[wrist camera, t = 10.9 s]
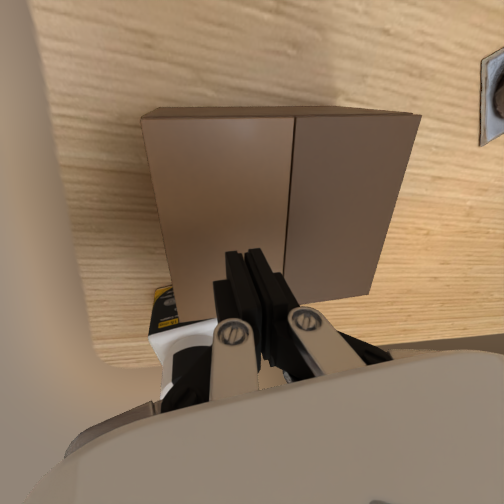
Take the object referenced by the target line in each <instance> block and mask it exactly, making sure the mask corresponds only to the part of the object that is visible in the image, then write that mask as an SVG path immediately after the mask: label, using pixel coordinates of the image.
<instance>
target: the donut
mask: <svg viewBox="0 0 504 504" xmlns="http://www.w3.org/2000/svg"><path fill="white" fill-rule="evenodd" d="M481 73H482V74H481V76H482V77H481V79H482V87H483V89H482V93H481V97H482V98H481V102H482V105H481V117H482V119H481V139H480V140H481V147H482V146H484V145H486V144H488V143H489V142H490V141H492V140H494V139H496V138H498V137H499V136H500V135H502V134H504V48H502V49H500V50H499V51H497V52H495V53H494V54H492V55H491V56H489V57H487V58H485V59H483V60H482V71H481Z"/></svg>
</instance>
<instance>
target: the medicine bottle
mask: <svg viewBox="0 0 504 504" xmlns="http://www.w3.org/2000/svg"><path fill="white" fill-rule="evenodd" d="M217 324H218V321H217V318H211V319H203V320H196V321H188V322H181V323H180V322H179V317H178V312H177V307H176V302H175V296H174V291H173V286H168V287H164V288H160V289H157V290H156V291H155V297H154V303H153V309H152V315H151V321H150V328H149V334H148V340H149V342H150V344H151V346H152V348H153V350H154V351H155V353H156V355H157V357H158V359H159V361H160V362H161V364H162V366H163V371H162V383H161V393H160V400H162V399H163V398H164V396H165V395H166V394H167V392H168V391H169V390H170V389H171V388H172V387H173V386H174V384H175V383H176V382H177V381H178V380H179V379H180V378H181V377H182V376H183V375H184V374H185V373H186V371H187V370H188V369H189V368H190V367H191V366H192V365H193V364H194V363H195V362H196V361H197V360H198V358H199V357H200V356H201V355H202V354H203V353H204V352H205V351H206V350H207V349H208V348H209V347H210V345H211V344H212V343H213V332H214V329H215V327H216V326H217Z"/></svg>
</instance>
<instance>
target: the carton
mask: <svg viewBox="0 0 504 504" xmlns="http://www.w3.org/2000/svg"><path fill="white" fill-rule="evenodd" d="M223 117H294V127H293V141H292V154H291V167H290V180H289V194H288V207H287V220H286V233H285V246H284V260H283V273H282V275H283V277H284V279H285V280H286V282H287V284H288V286H289V288H290V289H291V291H292V293H293V295H294V296H295V298H296V300H297V302H298V304H299V305H302V304H309V303H315V302H322V301H329V300H335V299H342V298H349V297H356V296H362V295H368V294H369V291H370V288H371V284H372V281H373V278H374V274H375V271H376V268H377V264H378V261H379V258H380V254H381V251H382V248H383V244H384V241H385V238H386V234H387V231H388V228H389V224H390V221H391V218H392V214H393V211H394V207H395V204H396V201H397V197H398V194H399V191H400V187H401V184H402V181H403V177H404V174H405V171H406V167H407V164H408V161H409V157H410V154H411V151H412V147H413V144H414V141H415V137H416V134H417V131H418V127H419V124H420V121H421V117H422V115H413V113H408V112H396V111H385V110H374V109H363V108H352V107H341V106H278V107H159V108H157V109H155V110H153V111H151V112H149V113H147V114H146V115H144V116H142V117H141V119H148V118H223Z"/></svg>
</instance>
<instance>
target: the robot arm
mask: <svg viewBox="0 0 504 504" xmlns="http://www.w3.org/2000/svg"><path fill="white" fill-rule="evenodd" d="M225 264H226V279H224V280H217V281H213V292H214V301H215V309H216V315H217V321H218V324H217V326H216V327H215V329H214V332H213V343H212V344H211V345H210V347H209V348H208V349H207V350H206V351H205V352H204V353H203V354H202V355H201V356H200V357H199V358H198V360H197V361H196V362H195V363H194V364H193V365H192V366H191V367H190V368H189V369H188V370H187V371H186V373H185V374H184V375H183V376H182V377H181V378H180V379H179V380H178V381H177V382H176V383H175V384H174V386H173V387H172V388H171V389H170V390H169V391H168V392H167V394H166V395H165V396H164V398H163V399H162V400H160V401H157V402H155V403H153V402H152V401H149V402H147V403H145V404H143V405H140V406H138V407H135V408H133V409H131V410H129V411H126V412H124V413H122V414H120V415H117V416H115V417H113V418H110V419H108V420H106V421H104V422H101V423H99V424H97V425H95V426H92V427H90V428H88V429H86V430H85V431H83V432H81V433H80V434H79V435H78V436H77V437H76V438H75V439H74V440H73V441H72V442H71V444H70V445H69V447H68V449H67V450H66V453H65V456H64V459H63V460H62V461H61V462H60V463H58V464H57V465H56V466H54V467H53V468H52V469H51V470H50V471H49V472H48V473H47V474H45V475H44V476H43V477H42V478H41V480H40V481H39V482H38V483H37V484H36V485H35V486H34V488H33V489H32V490H31V492H30V493H29V494H28V496H27V497H26V499H25V500H24V502H23V504H504V355H501V354H496V353H492V352H485V351H478V350H451V351H438V350H401V349H400V350H399V349H388V351H387V352H385V351H383V350H381V349H380V348H378V347H376V346H373V345H371V344H368V343H366V342H364V341H361V340H359V339H356V338H354V337H351V336H349V335H347V334H344V333H342V332H339V331H337V330H336V329H335V328H334V327H333V326H332V325H331V323H330V322H329V321H328V320H327V319H326V318H325V317H324V315H323V314H322V313H320V312H319V311H318V310H316V309H314V308H311V307H305V306H301V307H300V305H299V304H298V302H297V300H296V298H295V296H294V295H293V293H292V291H291V289H290V288H289V286H288V284H287V282H286V280H285V279H284V277H283V275H282V274H281V272H275V273H273V271H272V269H271V267H270V265H269V264H268V262H267V260H266V258H265V256H264V254H263V252H262V250H261V248H253V249H248V252H245V253H244V258H243V255H242V253H238V252H237V251H228V252H225ZM261 353H262V356H263V359H264V360H268V361H269V364H270V367H274V366H276V367H278V368H280V369H282V370H283V375H284V378H285V380H286V382H287V383H288V384H284V385H280V386H276V387H271V388H267V389H262V390H259V382H258V373H259V371H260V368H261Z"/></svg>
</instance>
